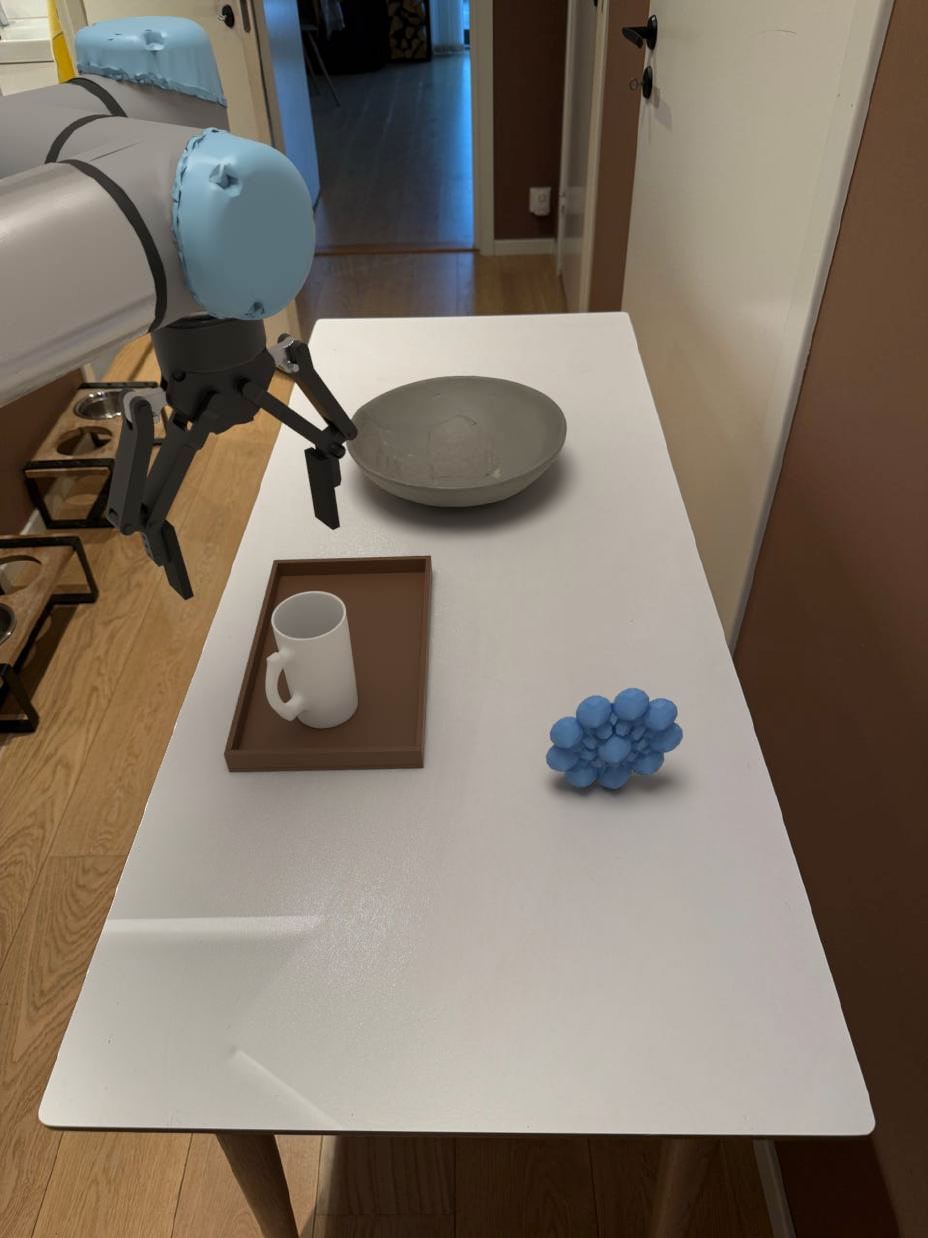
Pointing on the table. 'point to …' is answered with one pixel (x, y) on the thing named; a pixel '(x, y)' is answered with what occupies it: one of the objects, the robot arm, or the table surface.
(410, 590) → the tray
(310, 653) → the mug
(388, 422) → the bowl
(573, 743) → the blue sphere cluster
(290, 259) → the robot arm
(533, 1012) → the table surface
